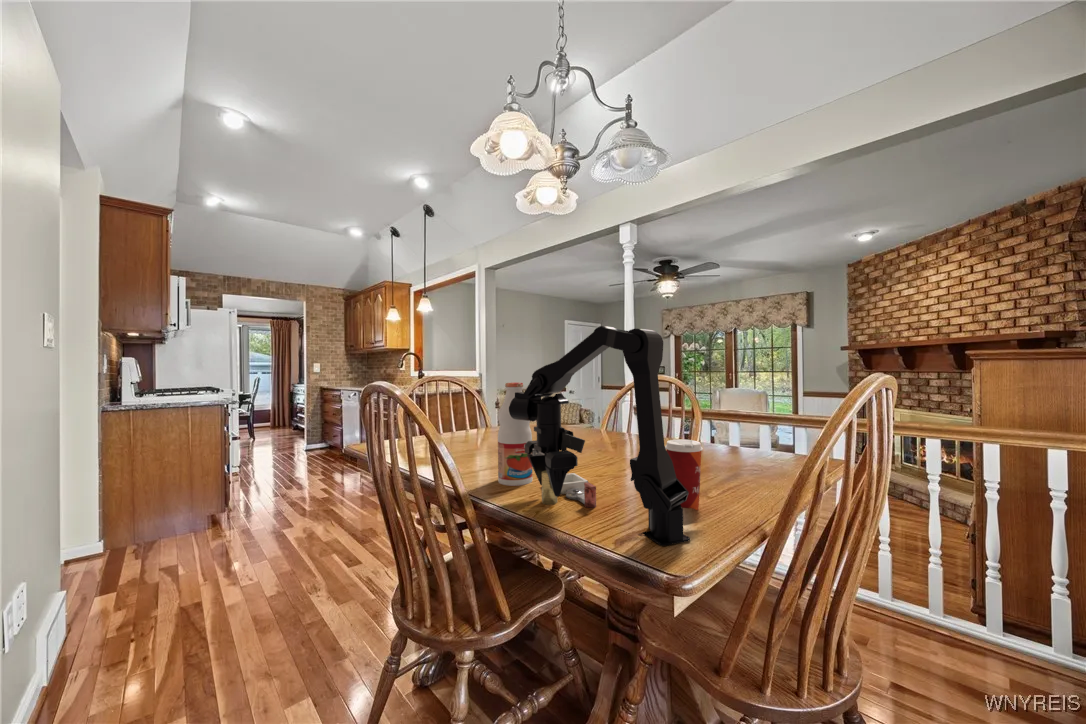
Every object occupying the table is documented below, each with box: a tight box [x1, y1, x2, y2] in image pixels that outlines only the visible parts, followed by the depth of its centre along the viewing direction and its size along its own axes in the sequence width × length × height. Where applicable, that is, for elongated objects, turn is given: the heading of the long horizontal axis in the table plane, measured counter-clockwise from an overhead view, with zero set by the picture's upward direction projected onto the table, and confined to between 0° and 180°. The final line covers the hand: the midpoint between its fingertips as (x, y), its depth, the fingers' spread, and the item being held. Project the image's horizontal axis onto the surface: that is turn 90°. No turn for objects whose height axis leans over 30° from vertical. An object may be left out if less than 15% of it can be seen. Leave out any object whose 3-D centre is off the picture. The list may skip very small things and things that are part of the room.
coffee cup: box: [665, 438, 704, 511], centre depth 97 cm, size 8×8×15 cm
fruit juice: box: [497, 382, 534, 487], centre depth 117 cm, size 9×9×28 cm
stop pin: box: [541, 470, 558, 506], centre depth 99 cm, size 4×4×7 cm
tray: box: [560, 472, 589, 495], centre depth 110 cm, size 8×8×2 cm
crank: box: [565, 481, 597, 509], centre depth 99 cm, size 12×5×5 cm, turn 21°
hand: (549, 490), depth 99 cm, fingers open, 9 cm apart
